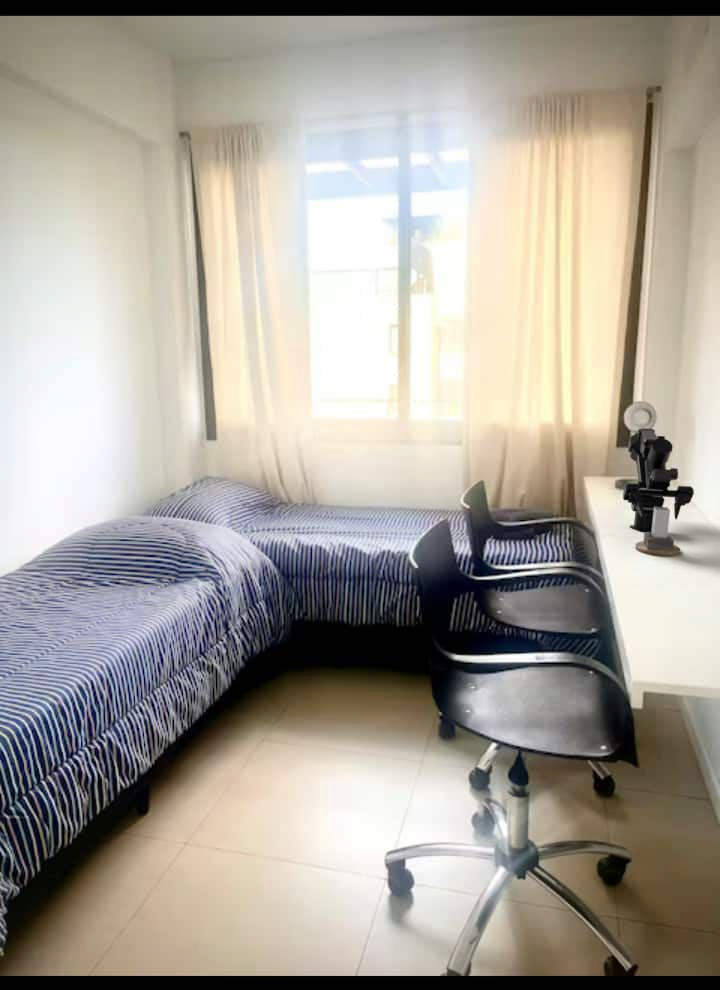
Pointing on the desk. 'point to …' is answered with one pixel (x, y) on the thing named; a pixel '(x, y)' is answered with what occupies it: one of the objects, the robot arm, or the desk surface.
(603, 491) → the desk surface
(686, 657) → the desk surface
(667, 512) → the post
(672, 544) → the stand base
